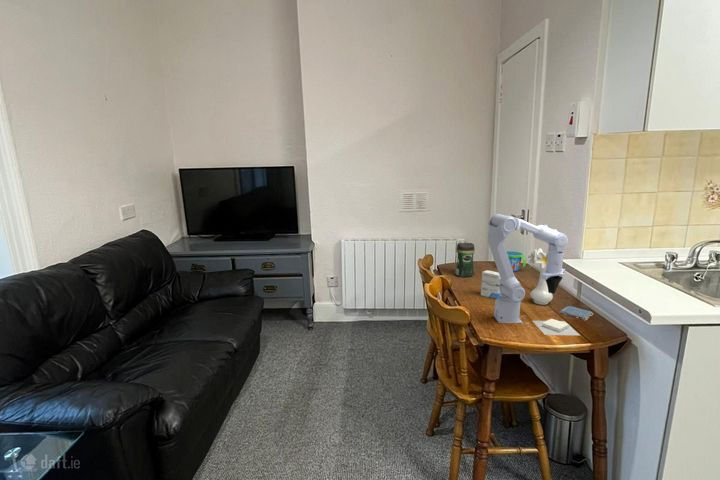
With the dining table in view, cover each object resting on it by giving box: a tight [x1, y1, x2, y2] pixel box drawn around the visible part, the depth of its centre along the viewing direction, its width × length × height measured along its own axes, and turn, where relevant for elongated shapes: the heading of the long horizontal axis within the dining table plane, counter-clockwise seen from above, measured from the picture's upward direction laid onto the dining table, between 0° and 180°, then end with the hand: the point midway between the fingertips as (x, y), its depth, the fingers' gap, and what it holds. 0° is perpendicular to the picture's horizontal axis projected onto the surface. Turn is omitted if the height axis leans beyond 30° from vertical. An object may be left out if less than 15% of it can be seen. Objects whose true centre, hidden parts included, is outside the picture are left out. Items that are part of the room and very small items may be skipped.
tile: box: [542, 318, 570, 332], centre depth 156 cm, size 1×7×7 cm
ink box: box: [480, 270, 502, 300], centre depth 191 cm, size 8×5×12 cm, turn 47°
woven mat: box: [560, 305, 594, 322], centre depth 170 cm, size 10×11×2 cm
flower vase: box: [527, 247, 554, 306], centre depth 181 cm, size 13×18×25 cm
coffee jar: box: [455, 242, 476, 278], centre depth 222 cm, size 10×8×19 cm
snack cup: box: [506, 250, 527, 272], centre depth 233 cm, size 16×10×10 cm
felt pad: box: [532, 320, 581, 337], centre depth 156 cm, size 13×13×1 cm
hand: (551, 292), depth 165 cm, fingers closed
